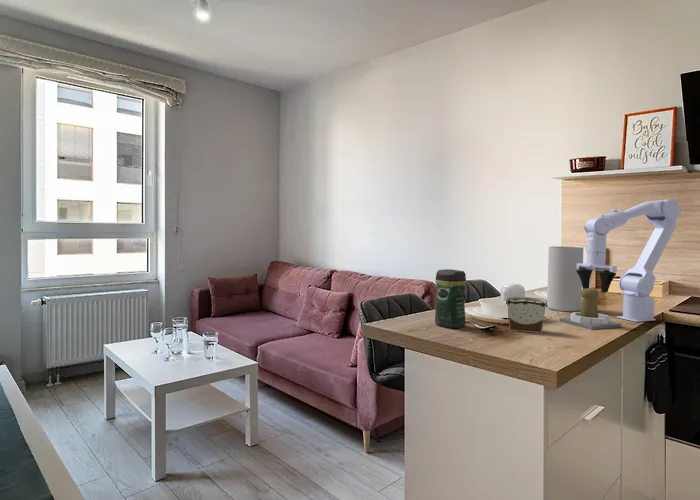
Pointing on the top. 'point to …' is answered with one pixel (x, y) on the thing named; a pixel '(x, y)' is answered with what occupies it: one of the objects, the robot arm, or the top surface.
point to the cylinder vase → (564, 279)
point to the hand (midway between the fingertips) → (595, 290)
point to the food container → (526, 314)
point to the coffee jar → (450, 298)
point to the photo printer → (512, 291)
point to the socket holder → (590, 321)
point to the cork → (589, 303)
